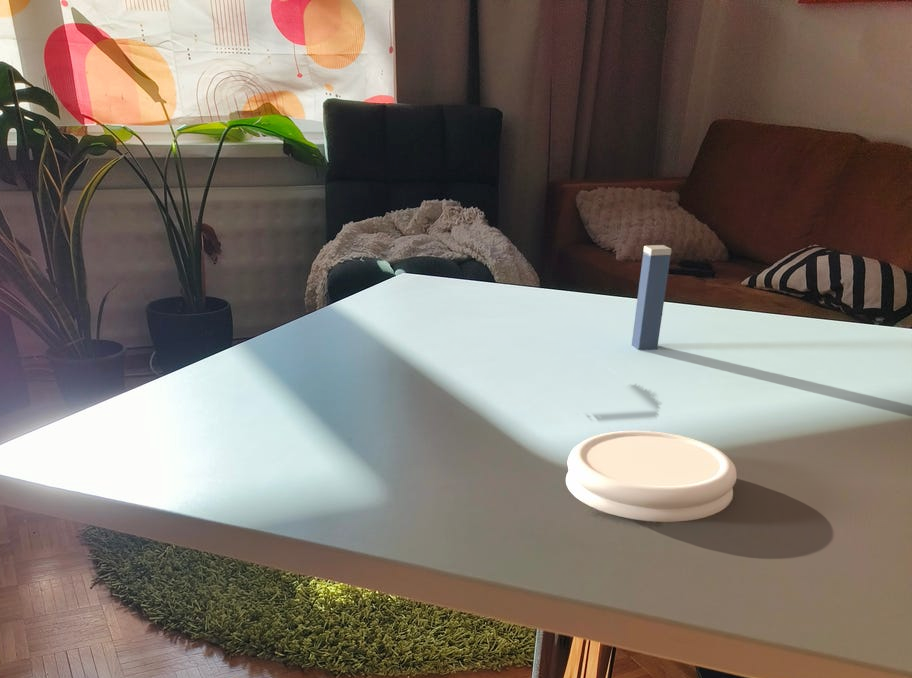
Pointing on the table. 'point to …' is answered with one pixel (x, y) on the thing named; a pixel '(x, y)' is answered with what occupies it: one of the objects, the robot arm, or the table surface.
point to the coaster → (651, 476)
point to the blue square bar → (651, 296)
